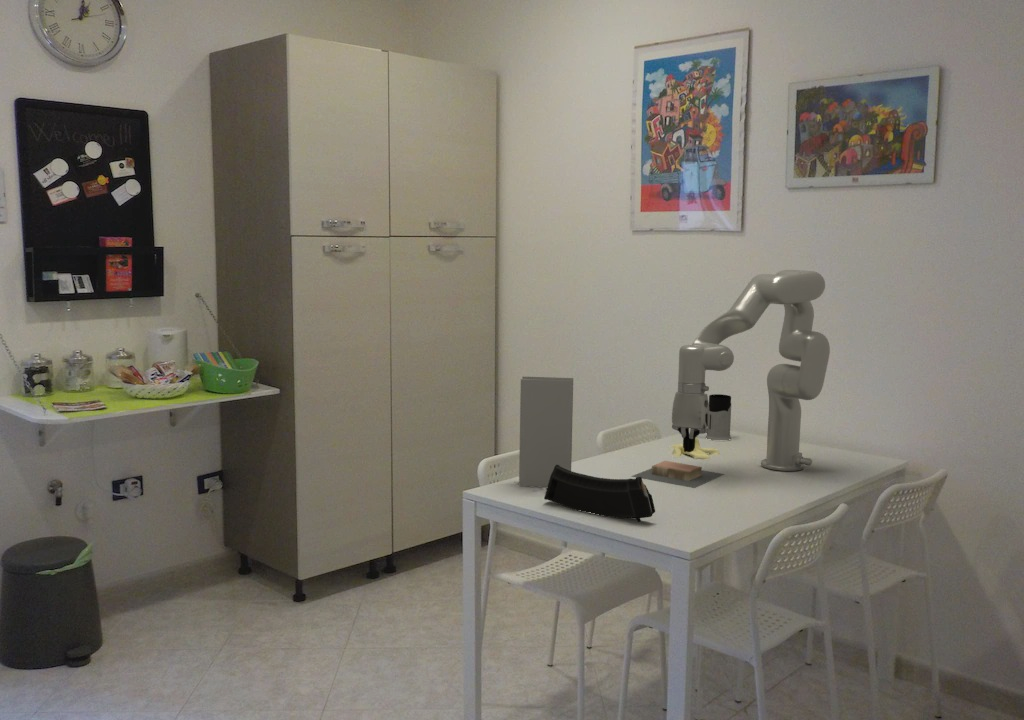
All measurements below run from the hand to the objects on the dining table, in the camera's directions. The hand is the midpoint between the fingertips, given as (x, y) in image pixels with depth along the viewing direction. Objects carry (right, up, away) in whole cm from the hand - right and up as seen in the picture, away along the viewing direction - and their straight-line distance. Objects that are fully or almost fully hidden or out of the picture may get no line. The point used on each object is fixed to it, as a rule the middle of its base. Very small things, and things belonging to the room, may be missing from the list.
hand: (688, 451), depth 270 cm
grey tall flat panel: (-42, -9, -8) cm, 43 cm away
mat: (-3, -8, +3) cm, 9 cm away
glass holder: (+18, -1, +57) cm, 60 cm away
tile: (-8, -5, +7) cm, 11 cm away
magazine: (-29, -13, -34) cm, 47 cm away
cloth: (+7, -5, +33) cm, 34 cm away
